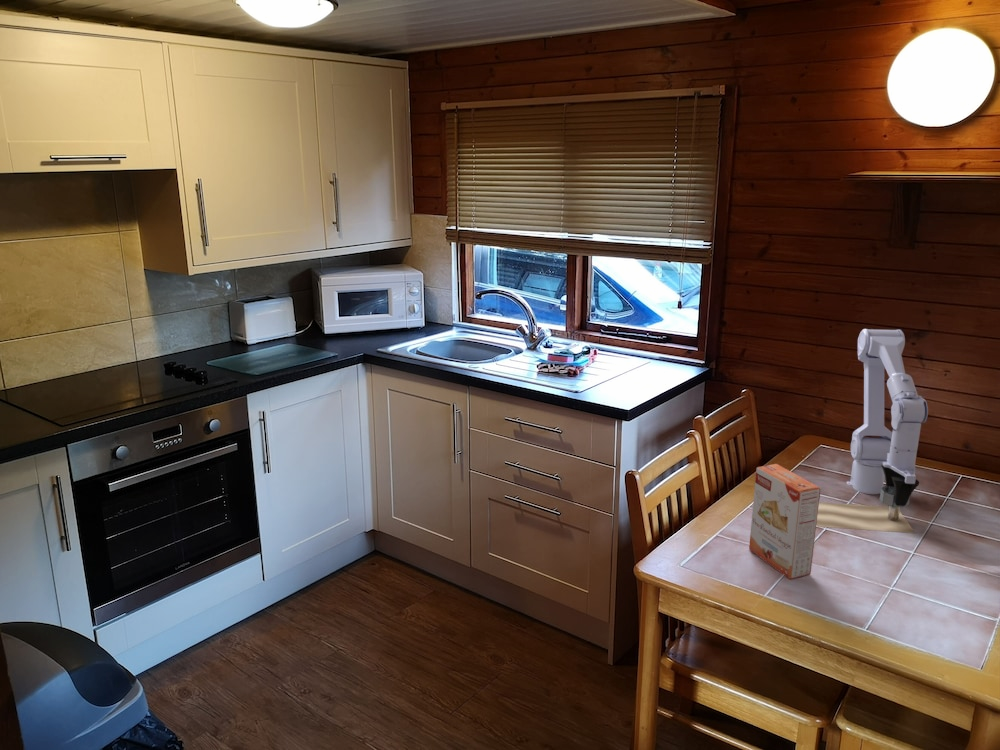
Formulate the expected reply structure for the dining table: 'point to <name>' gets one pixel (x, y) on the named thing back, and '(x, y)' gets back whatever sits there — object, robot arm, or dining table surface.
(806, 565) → the cracker box
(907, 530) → the board
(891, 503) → the ring hub
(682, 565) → the dining table surface
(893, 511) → the steel post
